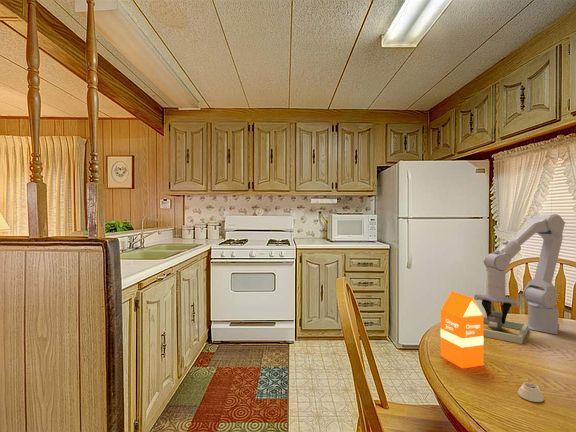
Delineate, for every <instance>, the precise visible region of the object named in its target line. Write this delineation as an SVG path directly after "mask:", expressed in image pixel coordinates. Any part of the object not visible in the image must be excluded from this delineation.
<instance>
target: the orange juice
mask: <svg viewBox="0 0 576 432" xmlns="http://www.w3.org/2000/svg"><path fill="white" fill-rule="evenodd" d="M483 316H484V314H483V312H482V311H481V309H480V308H479V306H478V304H477V303H476V300H474V298H473V296H469V295H465V294H461V293H458V292H455V291H450V293H449V295H448V297H447V298H446V301H444V304H443V305H442V307H441V309H440V357H442V358H443V359H445V360H447V361H449V362H450V363H452V364H454V365H456V366H457V367H459V368H460V369H466V368H467V369H468V368H473V367H480V366H484V342H485V341H484V337H485V336H483V329H484V323H483Z"/></svg>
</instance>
